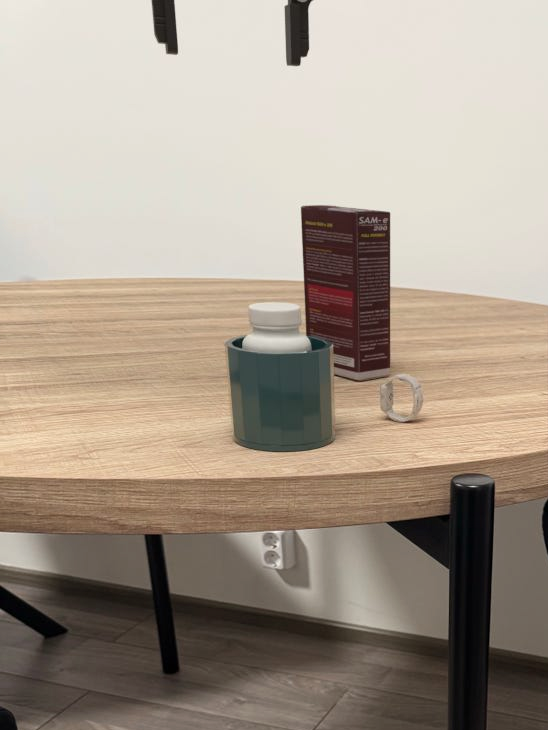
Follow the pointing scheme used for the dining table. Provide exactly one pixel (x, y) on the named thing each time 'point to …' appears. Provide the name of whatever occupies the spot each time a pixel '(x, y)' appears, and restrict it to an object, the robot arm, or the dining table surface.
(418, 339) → the dining table surface
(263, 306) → the pill bottle
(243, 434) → the cup
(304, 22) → the robot arm
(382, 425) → the dining table surface
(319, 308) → the supplement box
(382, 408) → the grey marbled ring
